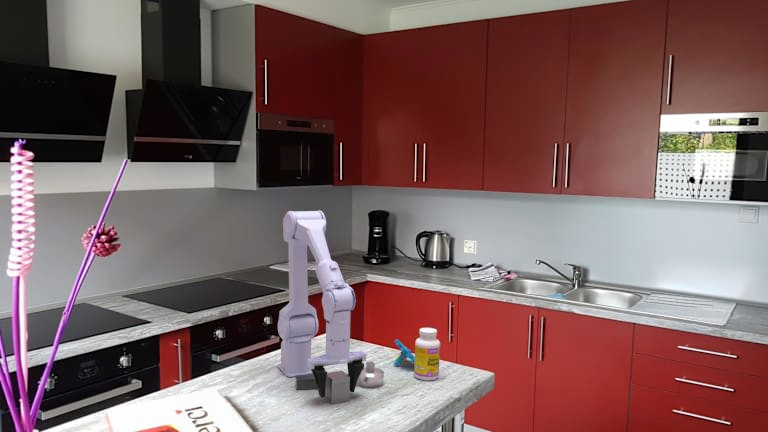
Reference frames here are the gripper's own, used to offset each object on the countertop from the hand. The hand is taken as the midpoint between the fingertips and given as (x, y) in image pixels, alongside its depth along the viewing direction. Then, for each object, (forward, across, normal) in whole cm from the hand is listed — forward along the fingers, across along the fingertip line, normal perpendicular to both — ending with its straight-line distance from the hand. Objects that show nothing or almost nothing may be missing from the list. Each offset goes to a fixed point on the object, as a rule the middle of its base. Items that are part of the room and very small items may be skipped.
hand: (336, 393), depth 140 cm
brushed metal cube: (+1, 0, 0) cm, 1 cm away
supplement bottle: (+2, +28, +4) cm, 28 cm away
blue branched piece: (+2, +28, +14) cm, 31 cm away
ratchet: (+1, +4, +8) cm, 9 cm away
